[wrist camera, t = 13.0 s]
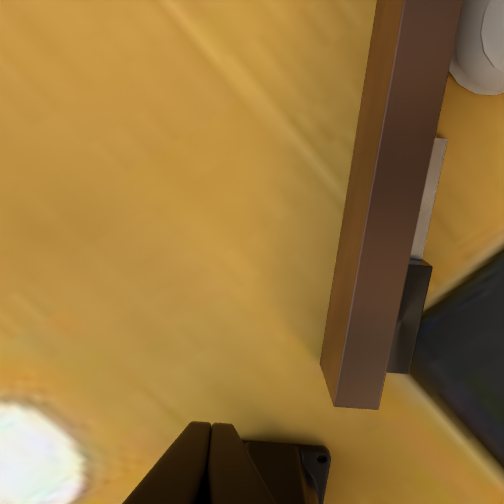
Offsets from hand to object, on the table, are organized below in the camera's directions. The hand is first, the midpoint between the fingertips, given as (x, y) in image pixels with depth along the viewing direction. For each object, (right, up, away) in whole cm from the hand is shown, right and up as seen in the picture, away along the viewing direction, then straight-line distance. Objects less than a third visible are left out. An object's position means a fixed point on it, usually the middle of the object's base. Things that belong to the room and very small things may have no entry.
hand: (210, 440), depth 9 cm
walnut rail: (+6, +8, +10) cm, 14 cm away
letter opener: (+8, +4, +12) cm, 15 cm away
